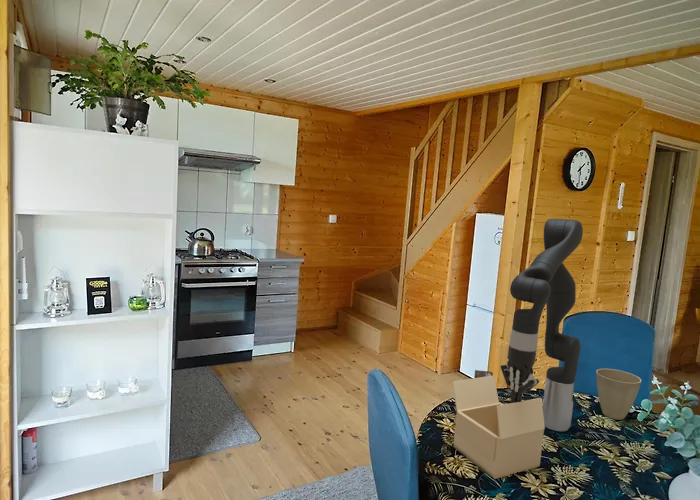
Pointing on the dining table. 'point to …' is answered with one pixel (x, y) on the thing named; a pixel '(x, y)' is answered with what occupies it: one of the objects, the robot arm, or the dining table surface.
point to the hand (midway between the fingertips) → (515, 402)
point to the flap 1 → (475, 392)
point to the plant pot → (616, 392)
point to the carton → (495, 443)
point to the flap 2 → (520, 417)
